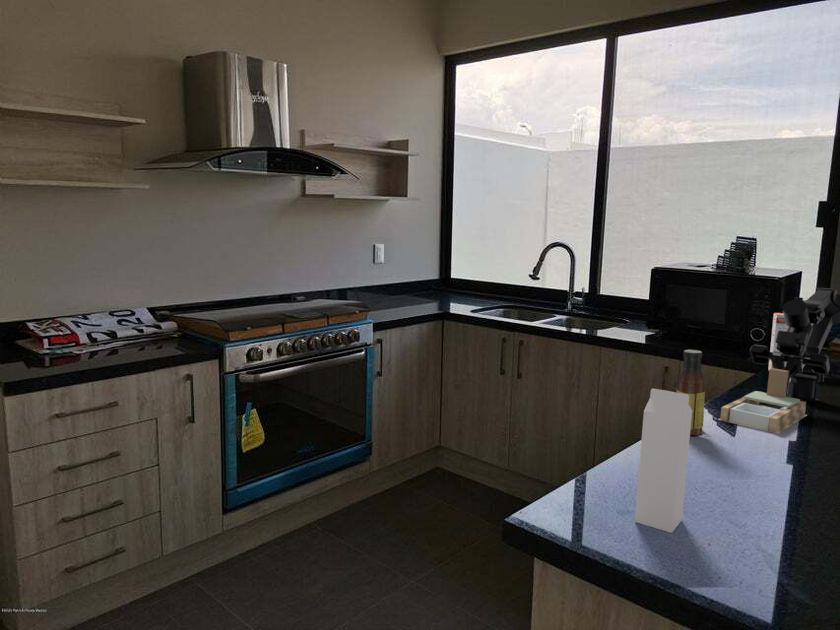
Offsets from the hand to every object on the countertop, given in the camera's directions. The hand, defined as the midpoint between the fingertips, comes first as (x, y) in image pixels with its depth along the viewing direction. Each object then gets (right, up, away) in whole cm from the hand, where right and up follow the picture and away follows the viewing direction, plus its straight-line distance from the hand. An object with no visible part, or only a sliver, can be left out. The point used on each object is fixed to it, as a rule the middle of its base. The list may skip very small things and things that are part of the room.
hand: (778, 383), depth 170 cm
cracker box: (+33, -2, +51) cm, 61 cm away
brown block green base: (-3, -4, -3) cm, 6 cm away
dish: (-12, -9, -10) cm, 18 cm away
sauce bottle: (-32, -10, -18) cm, 38 cm away
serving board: (-7, -9, -6) cm, 13 cm away
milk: (-57, -16, -65) cm, 88 cm away
